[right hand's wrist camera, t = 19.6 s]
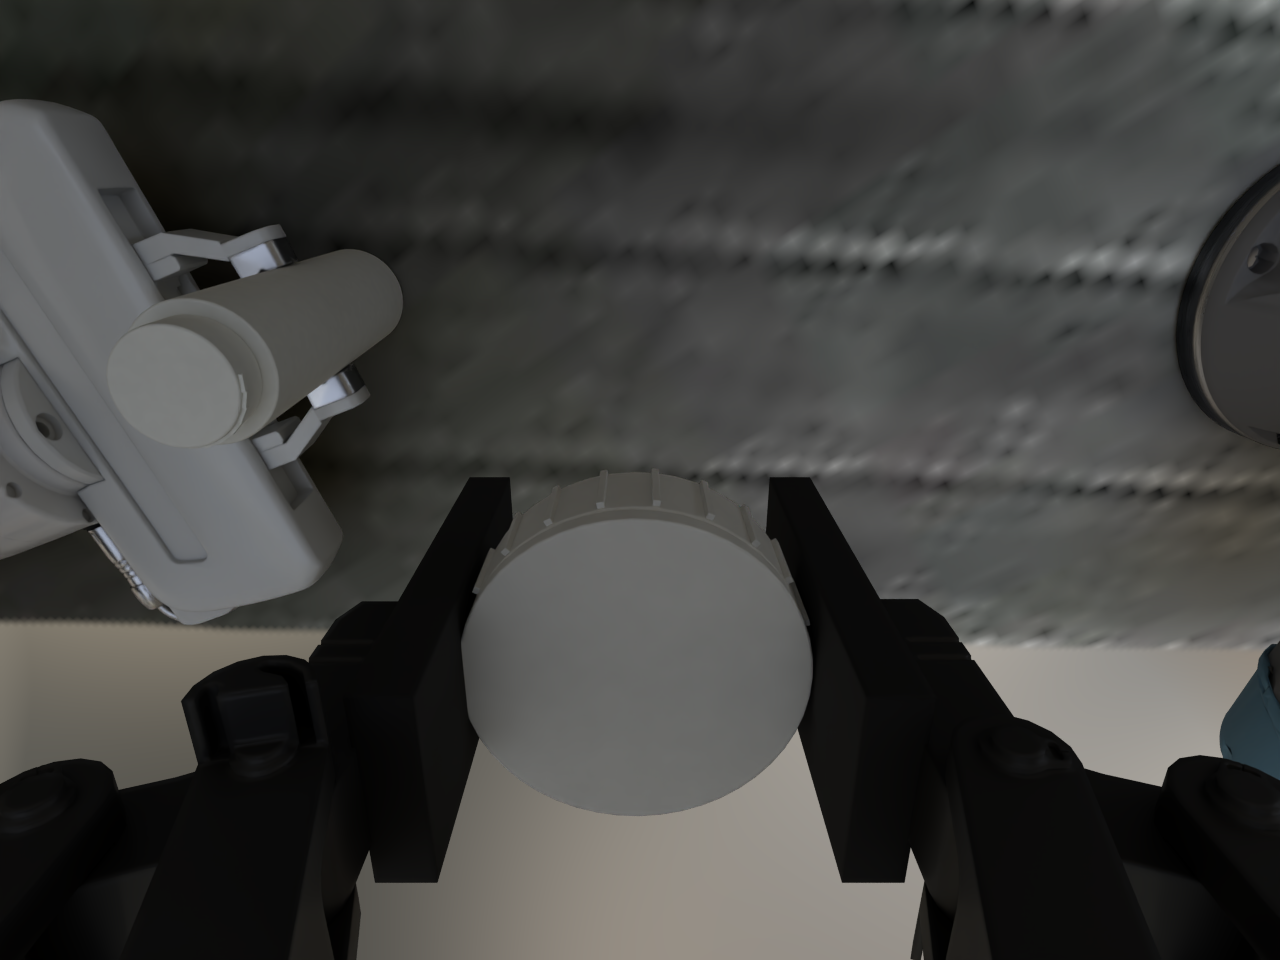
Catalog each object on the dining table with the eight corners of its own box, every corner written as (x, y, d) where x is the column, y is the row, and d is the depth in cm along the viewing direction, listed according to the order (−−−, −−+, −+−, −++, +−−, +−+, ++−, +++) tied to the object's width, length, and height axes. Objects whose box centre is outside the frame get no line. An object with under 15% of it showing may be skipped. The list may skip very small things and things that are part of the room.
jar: (318, 345, 37) (116, 467, 22) (299, 251, 35) (64, 311, 20) (410, 341, 37) (272, 459, 22) (395, 246, 35) (234, 302, 20)
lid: (861, 584, 12) (896, 648, 10) (666, 786, 13) (670, 870, 12) (599, 399, 11) (591, 438, 9) (418, 642, 12) (384, 713, 11)
